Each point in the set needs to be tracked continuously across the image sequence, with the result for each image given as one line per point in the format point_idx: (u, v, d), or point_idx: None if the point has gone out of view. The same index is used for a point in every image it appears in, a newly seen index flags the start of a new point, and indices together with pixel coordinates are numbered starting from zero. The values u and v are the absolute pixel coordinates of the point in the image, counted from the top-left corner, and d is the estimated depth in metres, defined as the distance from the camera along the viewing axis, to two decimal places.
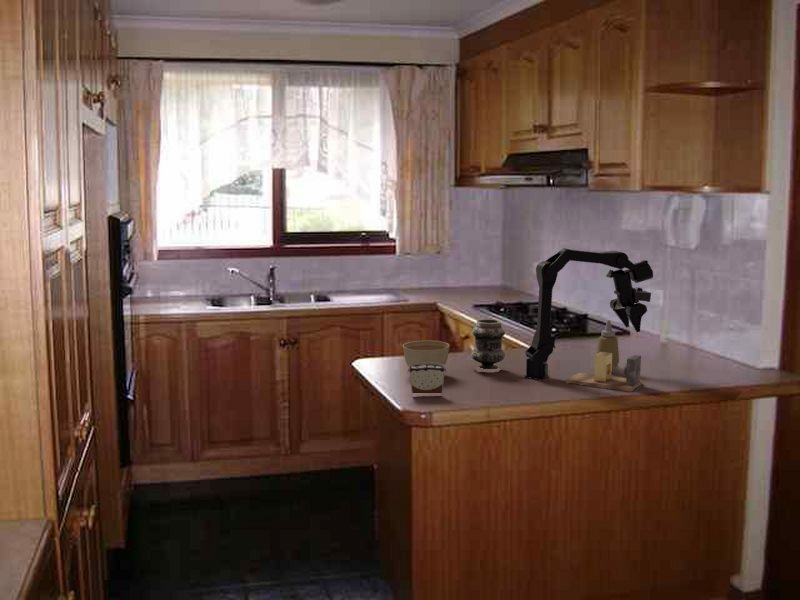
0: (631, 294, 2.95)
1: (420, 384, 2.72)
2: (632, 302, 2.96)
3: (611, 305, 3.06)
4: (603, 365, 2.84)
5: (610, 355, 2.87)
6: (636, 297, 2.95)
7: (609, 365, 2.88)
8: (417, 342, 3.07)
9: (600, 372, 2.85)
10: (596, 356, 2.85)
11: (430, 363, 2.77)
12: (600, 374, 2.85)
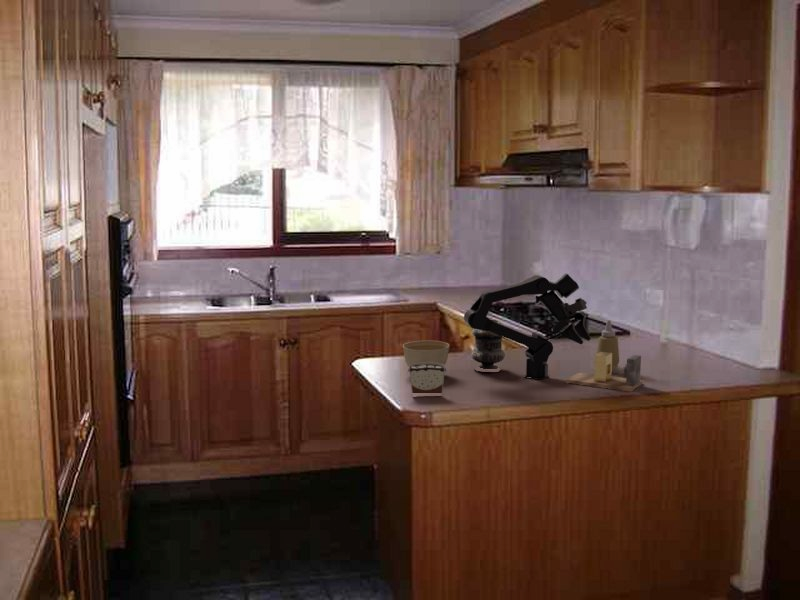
0: (561, 311, 2.90)
1: (420, 384, 2.72)
2: None
3: None
4: (603, 365, 2.84)
5: (610, 355, 2.87)
6: (566, 312, 2.89)
7: (609, 365, 2.88)
8: (417, 342, 3.07)
9: (600, 372, 2.85)
10: (596, 356, 2.85)
11: (430, 363, 2.77)
12: (600, 374, 2.85)
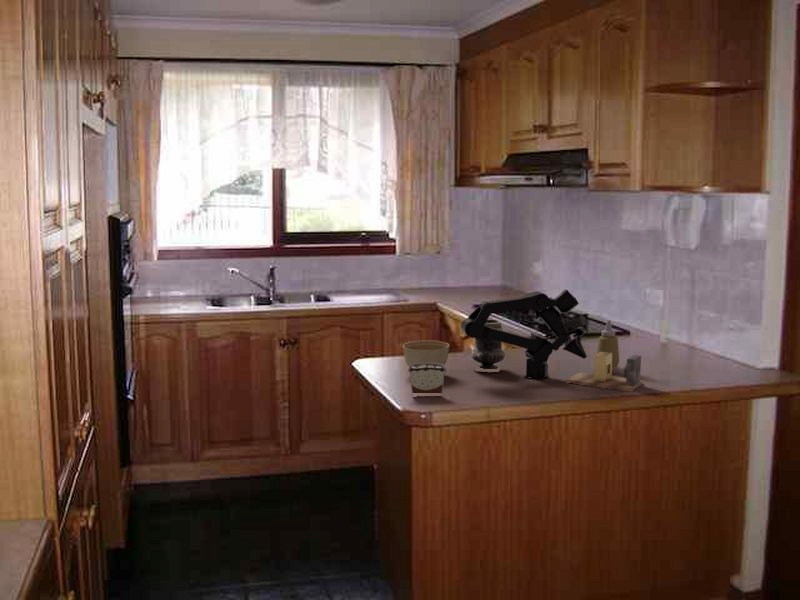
0: (561, 327, 2.91)
1: (420, 384, 2.72)
2: None
3: None
4: (603, 365, 2.84)
5: (610, 355, 2.87)
6: (565, 328, 2.90)
7: (609, 365, 2.88)
8: (417, 342, 3.07)
9: (600, 372, 2.85)
10: (596, 356, 2.85)
11: (430, 363, 2.77)
12: (600, 374, 2.85)
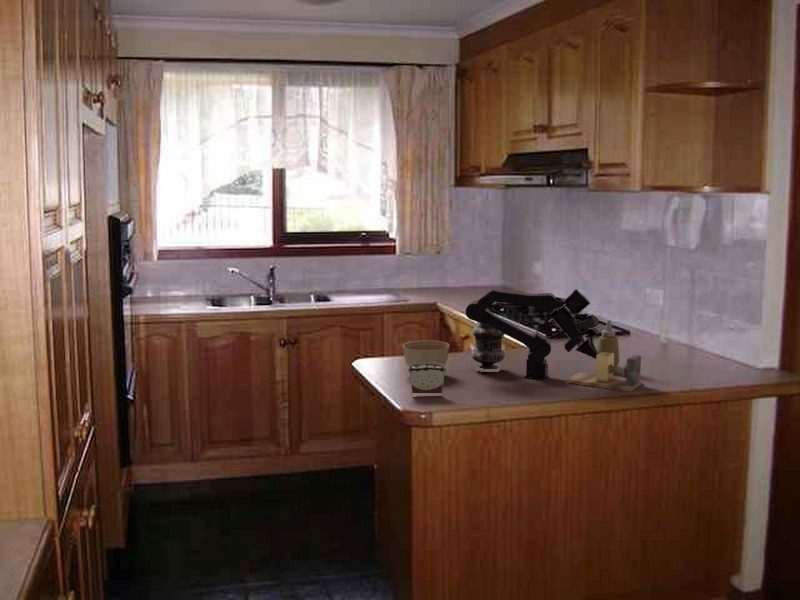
0: (573, 328, 2.89)
1: (420, 384, 2.72)
2: None
3: None
4: (605, 365, 2.84)
5: (612, 355, 2.87)
6: (578, 329, 2.87)
7: (611, 365, 2.88)
8: (417, 342, 3.07)
9: (602, 372, 2.85)
10: (598, 356, 2.85)
11: (430, 363, 2.77)
12: (602, 374, 2.85)
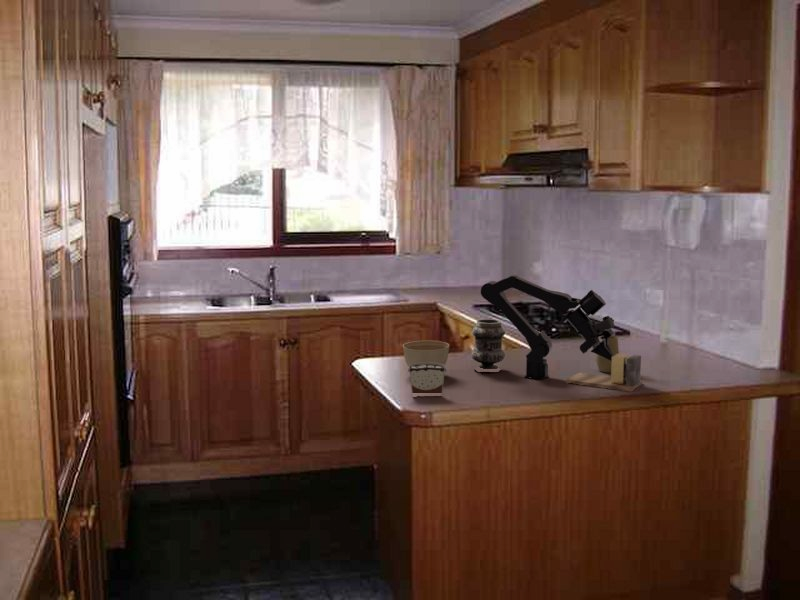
0: (588, 329, 2.86)
1: (420, 384, 2.72)
2: None
3: None
4: (620, 367, 2.81)
5: (627, 357, 2.84)
6: (593, 330, 2.85)
7: None
8: (417, 342, 3.07)
9: (617, 374, 2.82)
10: (613, 358, 2.82)
11: (430, 363, 2.77)
12: (617, 376, 2.82)
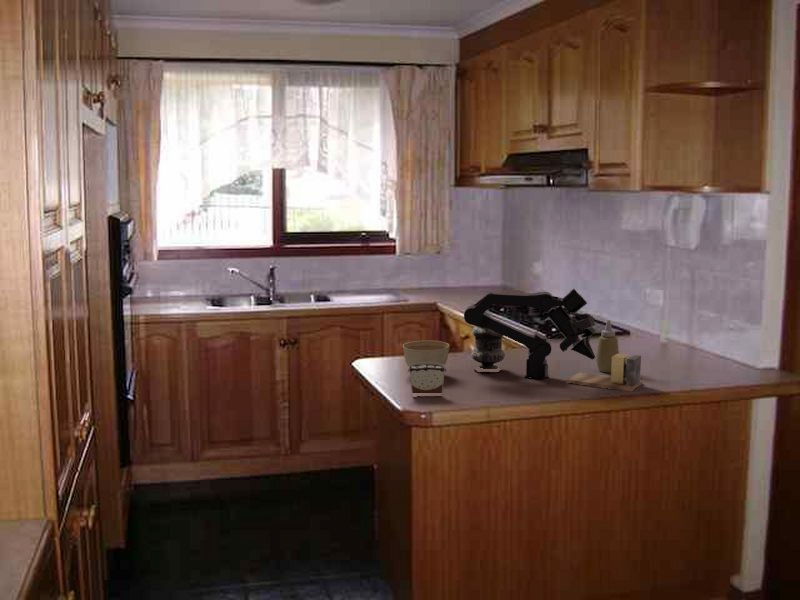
0: (569, 327, 2.89)
1: (420, 384, 2.72)
2: None
3: None
4: (620, 367, 2.81)
5: (627, 357, 2.84)
6: (573, 328, 2.88)
7: None
8: (417, 342, 3.07)
9: (617, 374, 2.82)
10: (613, 358, 2.82)
11: (430, 363, 2.77)
12: (617, 376, 2.82)
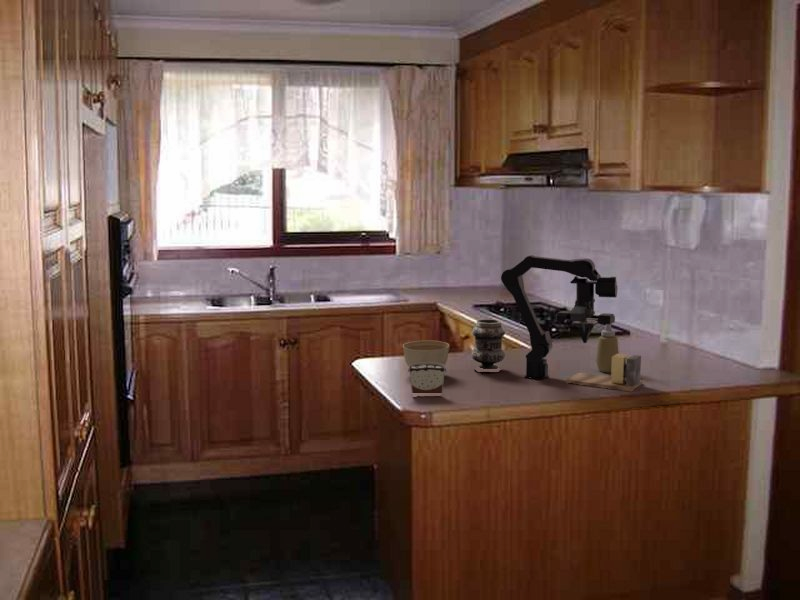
0: None
1: (420, 384, 2.72)
2: None
3: None
4: (620, 367, 2.81)
5: (627, 357, 2.84)
6: None
7: None
8: (417, 342, 3.07)
9: (617, 374, 2.82)
10: (613, 358, 2.82)
11: (430, 363, 2.77)
12: (617, 376, 2.82)
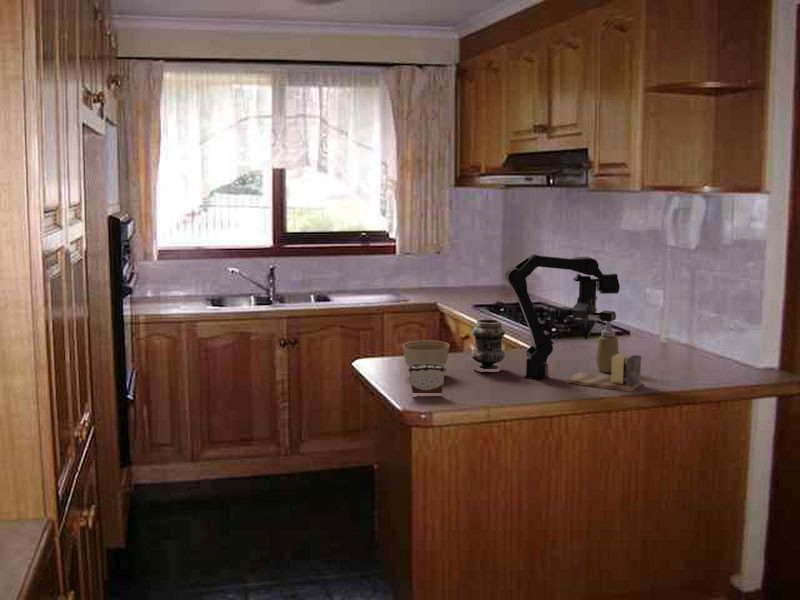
0: None
1: (420, 384, 2.72)
2: None
3: None
4: (620, 367, 2.81)
5: (627, 357, 2.84)
6: None
7: None
8: (417, 342, 3.07)
9: (617, 374, 2.82)
10: (613, 358, 2.82)
11: (430, 363, 2.77)
12: (617, 376, 2.82)
